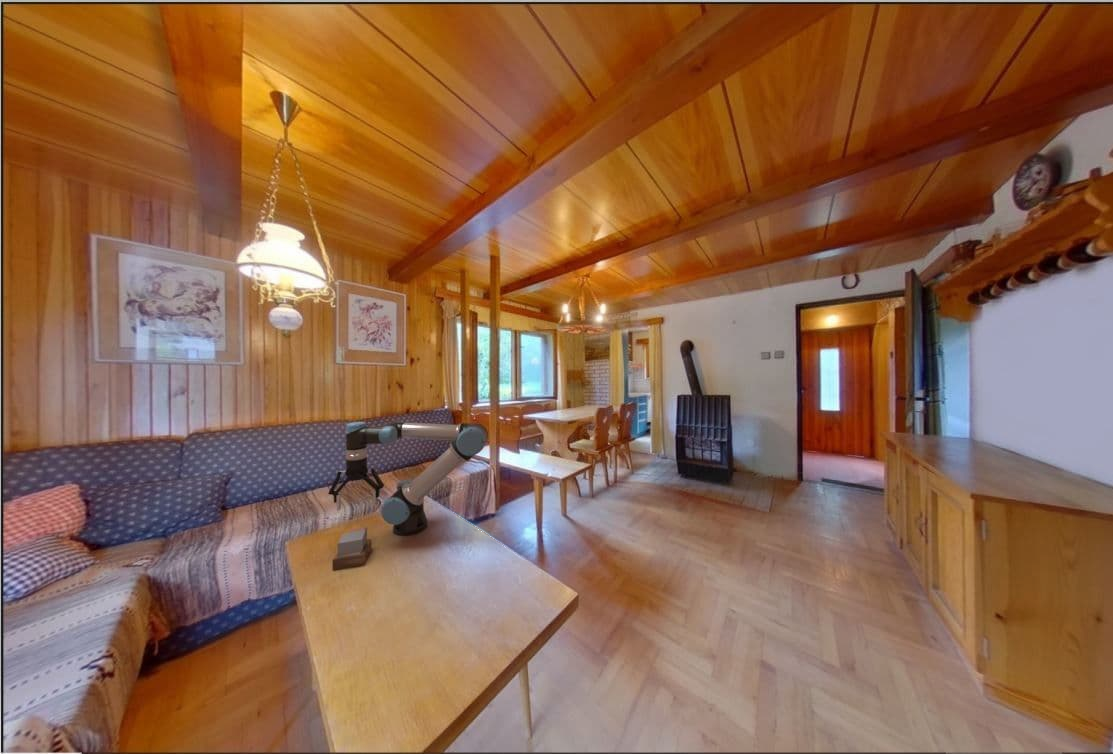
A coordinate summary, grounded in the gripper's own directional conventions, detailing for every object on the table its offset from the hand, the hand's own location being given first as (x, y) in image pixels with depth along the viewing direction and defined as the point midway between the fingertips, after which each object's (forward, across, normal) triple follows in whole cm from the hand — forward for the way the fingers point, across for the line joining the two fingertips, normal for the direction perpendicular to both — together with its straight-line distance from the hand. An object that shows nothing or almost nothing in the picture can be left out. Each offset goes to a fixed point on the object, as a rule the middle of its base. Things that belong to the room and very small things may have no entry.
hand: (357, 507), depth 133 cm
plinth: (+16, +1, -11) cm, 20 cm away
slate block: (+12, +1, -11) cm, 17 cm away
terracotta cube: (+17, -1, +1) cm, 17 cm away
